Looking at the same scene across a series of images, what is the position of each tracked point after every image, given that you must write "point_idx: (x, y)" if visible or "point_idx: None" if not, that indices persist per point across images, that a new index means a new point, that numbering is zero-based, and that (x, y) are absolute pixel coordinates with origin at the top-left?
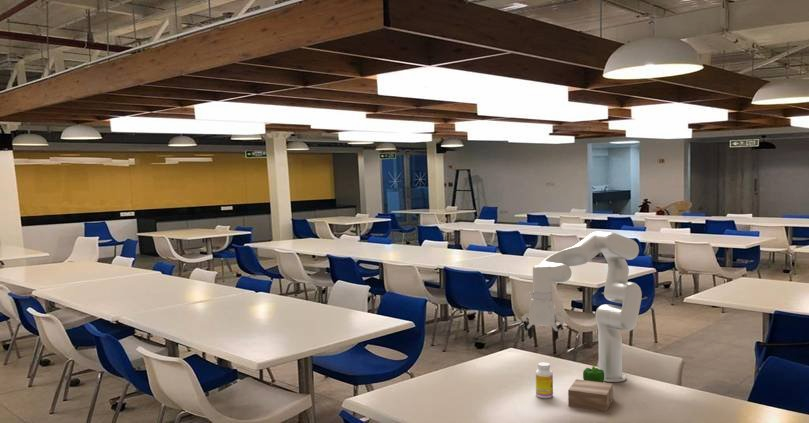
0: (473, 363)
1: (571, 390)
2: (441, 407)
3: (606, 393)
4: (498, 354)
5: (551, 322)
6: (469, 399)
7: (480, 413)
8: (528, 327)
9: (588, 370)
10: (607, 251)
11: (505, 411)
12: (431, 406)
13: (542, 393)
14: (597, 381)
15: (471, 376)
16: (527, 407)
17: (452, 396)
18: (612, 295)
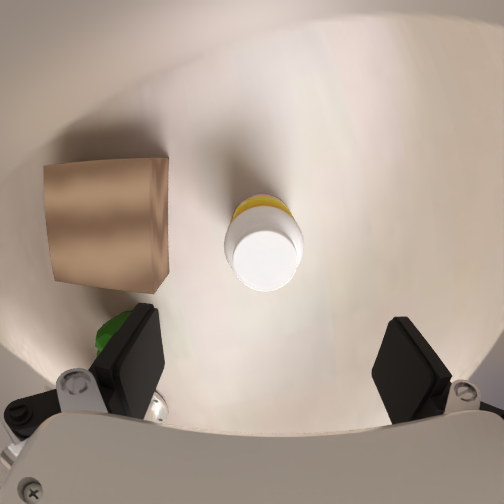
0: None
1: (138, 158)
2: (485, 70)
3: (45, 180)
4: None
5: (49, 457)
6: (459, 131)
7: (403, 32)
8: (461, 389)
9: None
10: None
11: (349, 50)
12: (499, 76)
13: (263, 195)
14: (109, 320)
15: (467, 314)
16: (294, 95)
17: (491, 149)
18: None
